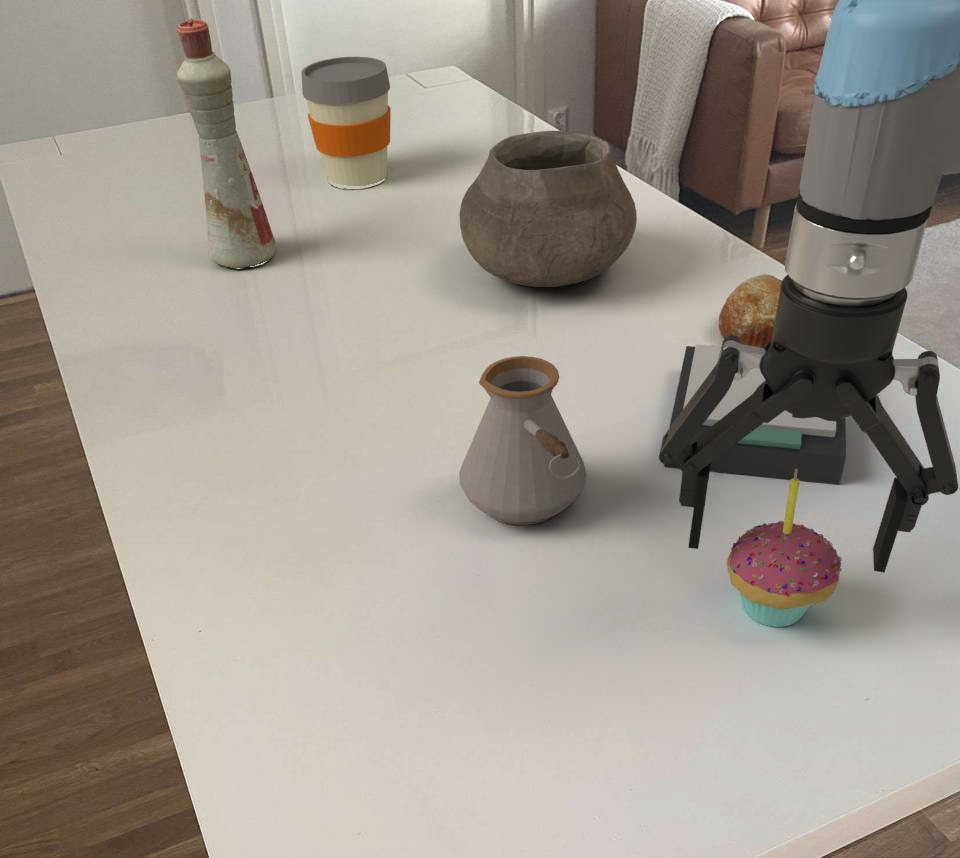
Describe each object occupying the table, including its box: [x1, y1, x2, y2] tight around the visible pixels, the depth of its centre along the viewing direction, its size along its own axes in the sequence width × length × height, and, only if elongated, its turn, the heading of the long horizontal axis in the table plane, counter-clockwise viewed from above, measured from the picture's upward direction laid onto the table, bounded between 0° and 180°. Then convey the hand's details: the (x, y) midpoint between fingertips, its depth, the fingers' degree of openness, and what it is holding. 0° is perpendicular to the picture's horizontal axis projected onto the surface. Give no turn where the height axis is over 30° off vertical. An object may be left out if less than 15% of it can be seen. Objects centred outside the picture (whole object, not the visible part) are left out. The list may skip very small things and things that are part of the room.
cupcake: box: [726, 469, 843, 628], centre depth 77 cm, size 9×8×12 cm
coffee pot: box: [459, 355, 587, 526], centre depth 84 cm, size 21×12×15 cm, turn 11°
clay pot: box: [459, 130, 638, 288], centre depth 121 cm, size 22×21×15 cm
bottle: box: [176, 17, 277, 269], centre depth 124 cm, size 9×9×28 cm
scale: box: [663, 344, 847, 485], centre depth 99 cm, size 16×18×4 cm
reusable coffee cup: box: [301, 56, 392, 186], centre depth 147 cm, size 13×13×15 cm
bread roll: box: [718, 273, 783, 348], centre depth 112 cm, size 10×10×8 cm
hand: (785, 549), depth 77 cm, fingers open, 13 cm apart
